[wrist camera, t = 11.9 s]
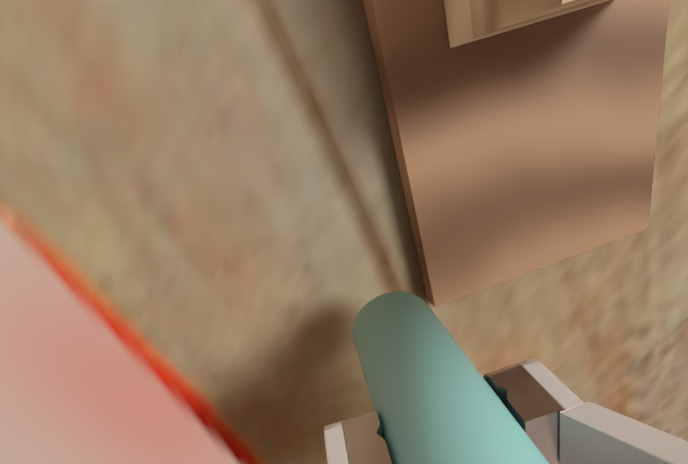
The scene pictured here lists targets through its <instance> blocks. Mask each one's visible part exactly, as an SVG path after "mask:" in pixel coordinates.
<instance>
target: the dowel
mask: <svg viewBox="0 0 688 464" xmlns="http://www.w3.org/2000/svg"><path fill="white" fill-rule="evenodd" d="M353 339H354V343H355V346H356V349H357V353H358V356H359V359H360V363H361V366H362V369H363V373H364V376H365V379H366V383H367V386H368V389H369V393H370V396H371V399H372V403H373V406H374V409H375V411H377V415H378V418H379V421H380V425H381V428H382V432H383V435H384V439H385V441H386V444H387V448H388V451H389V455H390V458H391V462H392V464H549V463H548V461H547V460H546V459H545V457H544V456H543V455H542V453H541V452H540V451H539V450H538V448H537V447H536V446H535V444H534V443H533V442H532V440H531V439H530V438H529V437H528V435H527V434H526V433H525V431H524V430H523V429H522V427H521V426H520V425H519V423H518V422H517V421H516V420H515V418H514V417H513V416H512V414H511V413H510V412H509V410H508V409H507V408H506V406H505V405H504V404H503V403H502V401H501V400H500V399H499V397H498V396H497V395H496V393H495V392H494V391H493V390H492V388H491V387H490V386H489V384H488V383H487V382H486V380H485V379H484V378H483V376H482V375H481V374H480V373H479V371H478V370H477V369H476V367H475V366H474V365H473V363H472V362H471V361H470V359H469V358H468V357H467V356H466V354H465V353H464V352H463V350H462V349H461V348H460V346H459V345H458V344H457V343H456V341H455V340H454V339H453V337H452V336H451V335H450V333H449V332H448V331H447V329H446V328H445V327H444V326H443V324H442V323H441V322H440V320H439V319H438V318H437V316H436V315H435V314H434V313H433V311H432V310H431V309H430V307H429V306H428V305H427V303H426V302H425V301H424V300H423V299H421V298H420V297H418V296H417V295H415V294H412V293H408V292H402V291H396V292H389V293H385V294H383V295H380V296H378V297H376V298H374V299H373V300H371V301H370V302H369V303H367V304H366V305H365V306H364V307H363V308H362V310H361V311H360V312H359V314H358V316H357V317H356V320H355V322H354V326H353Z"/></svg>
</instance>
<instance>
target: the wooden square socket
mask: <svg viewBox="0 0 688 464" xmlns="http://www.w3.org/2000/svg"><path fill="white" fill-rule="evenodd" d="M606 1H610V0H444V6H445V14H446V21H447V29H448V36H449V44H450V48H453V47H456V46H460V45H463V44H466V43H470V42H473V41H476V40H480V39H483V38H486V37H490V36H493V35H496V34H500V33H503V32H506V31H510V30H513V29H516V28H520V27H523V26H526V25H530V24H533V23H536V22H540V21H543V20H546V19H550V18H553V17H556V16H560V15H563V14H566V13H570V12H573V11H576V10H580V9H583V8H586V7H590V6H593V5H596V4H600V3H603V2H606Z"/></svg>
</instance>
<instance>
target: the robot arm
mask: <svg viewBox="0 0 688 464" xmlns="http://www.w3.org/2000/svg"><path fill="white" fill-rule="evenodd" d="M483 378H484V379H485V380H486V382H487V383H488V384H489V386H490V387H491V388H492V390H493V391H494V392H495V393H496V395H497V396H498V397H499V399H500V400H501V401H502V403H503V404H504V405H505V406H506V408H507V409H508V410H509V412H510V413H511V414H512V416H513V417H514V418H515V420H516V421H517V422H518V423H519V425H520V426H521V427H522V429H523V430H524V431H525V433H526V434H527V435H528V437H529V438H530V439H531V440H532V442H533V443H534V444H535V446H536V447H537V448H538V450H539V451H540V452H541V453H542V455H543V456H544V457H545V459H546V460H547V461H548V463H549V464H557V463H560V464H688V441H685V440H683V439H681V438H678V437H676V436H673V435H671V434H668V433H666V432H663V431H661V430H658V429H656V428H653V427H651V426H648V425H646V424H644V423H641V422H639V421H636V420H634V419H631V418H629V417H626V416H624V415H621V414H619V413H616V412H614V411H611V410H609V409H607V408H604V407H602V406H599V405H597V404H594V403H592V402H586V403H583V402H582V401H581V400H580V399H579V398H578V397H577V396H576V395H575V394H574V393H573V392H572V391H571V390H570V389H569V388H567V387H566V386H565V385H564V384H563V383H562V382H561V381H560V380H559V379H558V378H557V377H556V376H555V375H554V374H552V373H551V372H550V371H549V370H548V369H547V368H546V367H545V366H544V365H543V364H542V363H541V362H540V361H539V360H537V359H535V358H533V359H530V360H527V361H523V362H520V363H517V364H513V365H510V366H507V367H505V368H502V369H499V370H496V371H493V372H490V373H487V374H484V377H483ZM324 440H325V449H326V458H327V464H392V462H391V458H390V455H389V451H388V448H387V444H386V441H385V439H384V435H383V432H382V428H381V425H380V421H379V418H378V415H377V411H373V412H369V413H366V414H362V415H359V416H356V417H352V418H349V419H345V420H342V421H339V422H336V423H333V424H329V425H326V426H324Z"/></svg>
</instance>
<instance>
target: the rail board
mask: <svg viewBox="0 0 688 464" xmlns="http://www.w3.org/2000/svg"><path fill="white" fill-rule="evenodd" d="M363 4H364V9H365V13H366V18H367V23H368V27H369V32H370V37H371V41H372V46H373V51H374V55H375V60H376V65H377V69H378V74H379V79H380V83H381V88H382V93H383V97H384V102H385V106H386V111H387V116H388V120H389V125H390V130H391V134H392V139H393V144H394V148H395V153H396V158H397V162H398V167H399V172H400V176H401V181H402V186H403V190H404V195H405V200H406V204H407V209H408V214H409V218H410V223H411V228H412V232H413V237H414V241H415V246H416V251H417V255H418V260H419V265H420V269H421V274H422V279H423V283H424V288H425V293H426V297H427V298H428V299H429V300H430V302H431V303H432V304H433V305H434V306H435V307H437V306H440V305H442V304H445V303H448V302H450V301H453V300H456V299H458V298H461V297H464V296H466V295H469V294H472V293H475V292H477V291H480V290H483V289H485V288H488V287H491V286H493V285H496V284H499V283H501V282H504V281H507V280H509V279H512V278H515V277H517V276H520V275H523V274H526V273H528V272H531V271H534V270H536V269H539V268H542V267H544V266H547V265H550V264H552V263H555V262H558V261H560V260H563V259H566V258H569V257H571V256H574V255H577V254H579V253H582V252H585V251H587V250H590V249H593V248H595V247H598V246H601V245H603V244H606V243H609V242H612V241H614V240H617V239H620V238H622V237H625V236H628V235H630V234H633V233H636V232H638V231H641V230H644V229H646V228H648V225H649V215H650V204H651V193H652V182H653V171H654V160H655V150H656V139H657V128H658V117H659V106H660V95H661V85H662V74H663V63H664V52H665V41H666V30H667V19H668V9H669V0H610V1H606V2H603V3H600V4H596V5H593V6H590V7H586V8H583V9H580V10H576V11H573V12H570V13H566V14H563V15H560V16H556V17H553V18H550V19H546V20H543V21H540V22H536V23H533V24H530V25H526V26H523V27H520V28H516V29H513V30H510V31H506V32H503V33H500V34H496V35H493V36H490V37H486V38H483V39H480V40H476V41H473V42H470V43H466V44H463V45H460V46H456V47H453V48H450V44H449V36H448V29H447V21H446V14H445V6H444V0H363Z"/></svg>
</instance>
